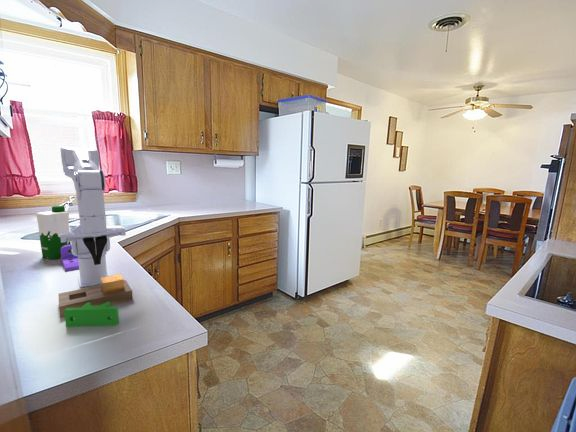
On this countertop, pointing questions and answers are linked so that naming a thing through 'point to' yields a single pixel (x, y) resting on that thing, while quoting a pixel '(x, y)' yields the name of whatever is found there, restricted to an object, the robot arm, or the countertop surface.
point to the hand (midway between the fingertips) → (97, 263)
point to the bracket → (69, 259)
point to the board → (92, 297)
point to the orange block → (112, 283)
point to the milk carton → (53, 231)
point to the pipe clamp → (92, 315)
